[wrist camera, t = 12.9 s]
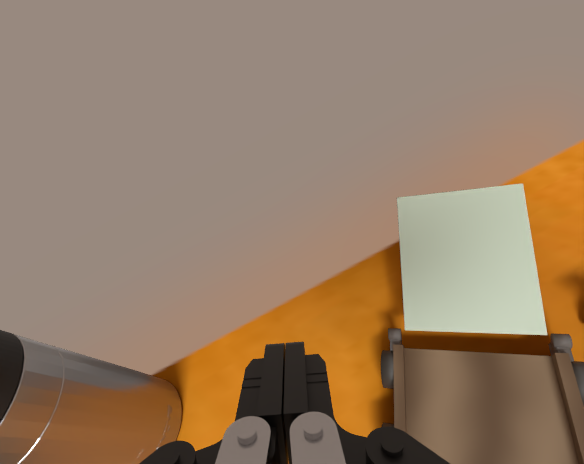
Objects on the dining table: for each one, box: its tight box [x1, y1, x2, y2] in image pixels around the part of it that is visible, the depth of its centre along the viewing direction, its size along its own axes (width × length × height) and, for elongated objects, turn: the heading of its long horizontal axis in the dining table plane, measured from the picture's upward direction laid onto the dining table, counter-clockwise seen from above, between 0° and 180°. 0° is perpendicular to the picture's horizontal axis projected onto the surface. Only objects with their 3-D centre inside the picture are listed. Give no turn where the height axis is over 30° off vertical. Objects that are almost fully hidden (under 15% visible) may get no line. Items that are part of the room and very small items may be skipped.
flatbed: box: [381, 328, 584, 464], centre depth 25 cm, size 14×10×3 cm
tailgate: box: [397, 184, 547, 335], centre depth 28 cm, size 10×1×12 cm
